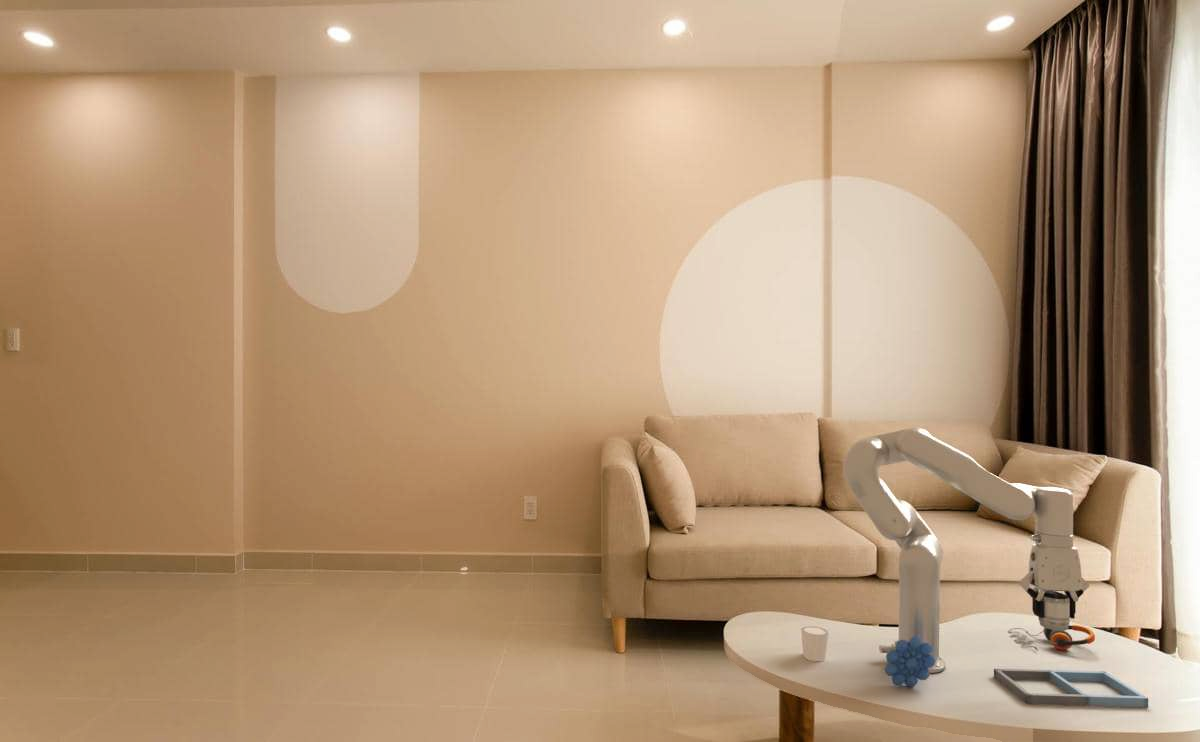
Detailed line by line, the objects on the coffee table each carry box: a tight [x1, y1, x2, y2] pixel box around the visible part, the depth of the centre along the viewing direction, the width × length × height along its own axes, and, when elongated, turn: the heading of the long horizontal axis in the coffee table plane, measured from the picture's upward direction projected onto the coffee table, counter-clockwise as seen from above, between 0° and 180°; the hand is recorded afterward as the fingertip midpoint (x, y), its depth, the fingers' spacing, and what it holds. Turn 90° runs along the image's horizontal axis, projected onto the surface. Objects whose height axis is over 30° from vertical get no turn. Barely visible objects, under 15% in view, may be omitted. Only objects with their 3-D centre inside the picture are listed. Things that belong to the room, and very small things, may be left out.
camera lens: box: [1037, 591, 1071, 631], centre depth 165 cm, size 6×6×8 cm
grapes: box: [884, 637, 935, 688], centre depth 167 cm, size 12×7×12 cm, turn 87°
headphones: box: [1007, 624, 1096, 651], centre depth 193 cm, size 17×5×20 cm
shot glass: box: [800, 625, 830, 662], centre depth 182 cm, size 7×7×7 cm
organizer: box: [993, 668, 1149, 708], centre depth 165 cm, size 27×14×2 cm, turn 89°
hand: (1053, 615), depth 165 cm, fingers closed on camera lens, 6 cm apart
